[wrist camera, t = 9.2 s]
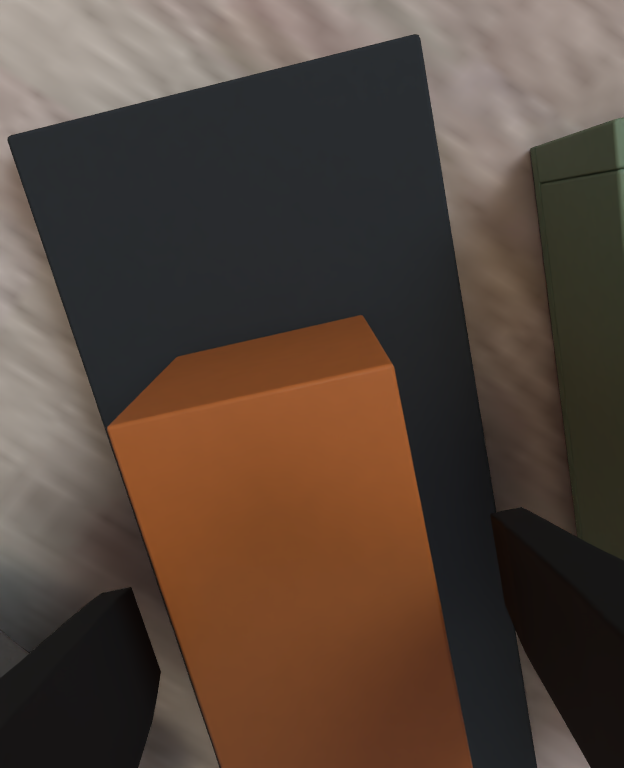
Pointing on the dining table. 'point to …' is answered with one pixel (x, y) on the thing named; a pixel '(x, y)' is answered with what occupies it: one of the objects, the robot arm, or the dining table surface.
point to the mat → (293, 287)
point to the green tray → (588, 315)
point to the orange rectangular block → (295, 552)
